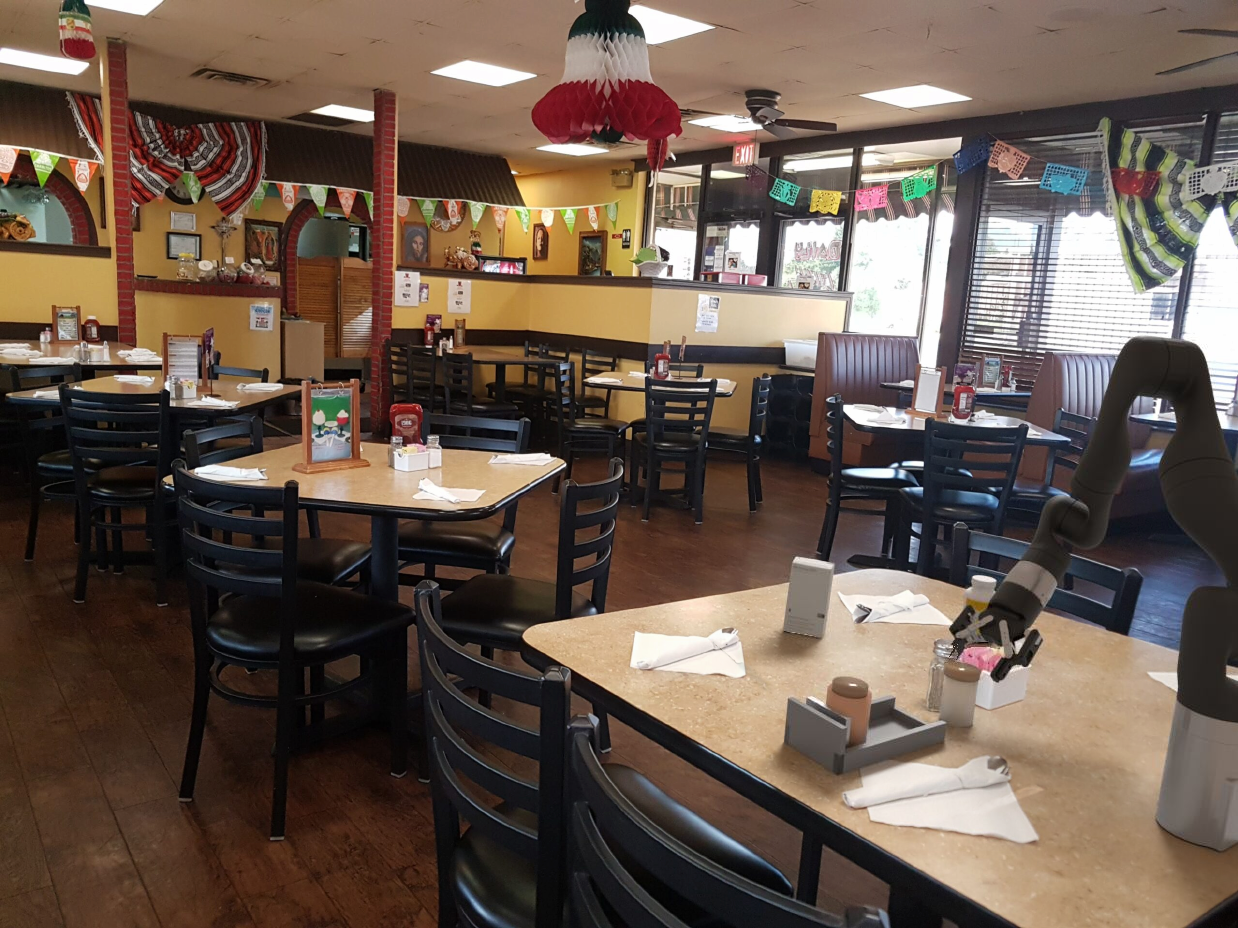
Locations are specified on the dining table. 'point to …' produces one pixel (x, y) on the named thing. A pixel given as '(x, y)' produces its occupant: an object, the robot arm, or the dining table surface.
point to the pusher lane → (885, 738)
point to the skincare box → (808, 596)
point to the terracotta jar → (852, 705)
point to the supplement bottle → (979, 594)
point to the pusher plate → (831, 714)
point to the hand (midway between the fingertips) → (971, 669)
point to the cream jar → (959, 693)
